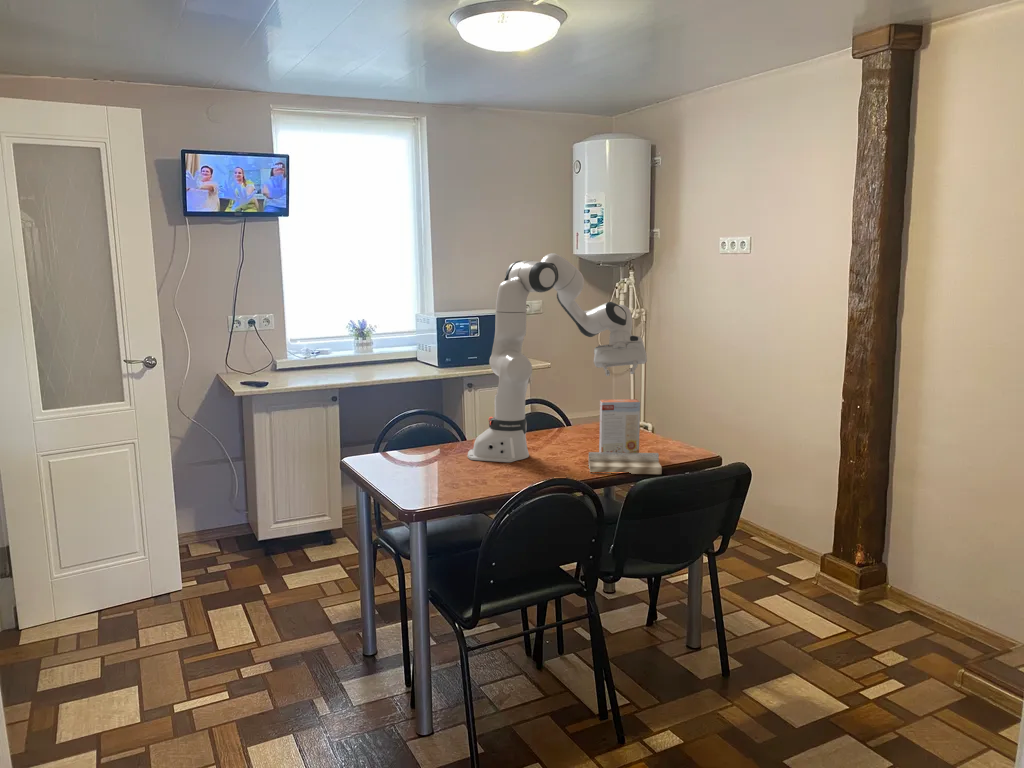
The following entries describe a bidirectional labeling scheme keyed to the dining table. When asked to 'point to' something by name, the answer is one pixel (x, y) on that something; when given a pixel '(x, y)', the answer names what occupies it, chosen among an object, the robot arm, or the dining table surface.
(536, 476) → the dining table surface
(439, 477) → the dining table surface
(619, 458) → the edge rail
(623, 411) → the cracker box
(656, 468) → the birch plank
